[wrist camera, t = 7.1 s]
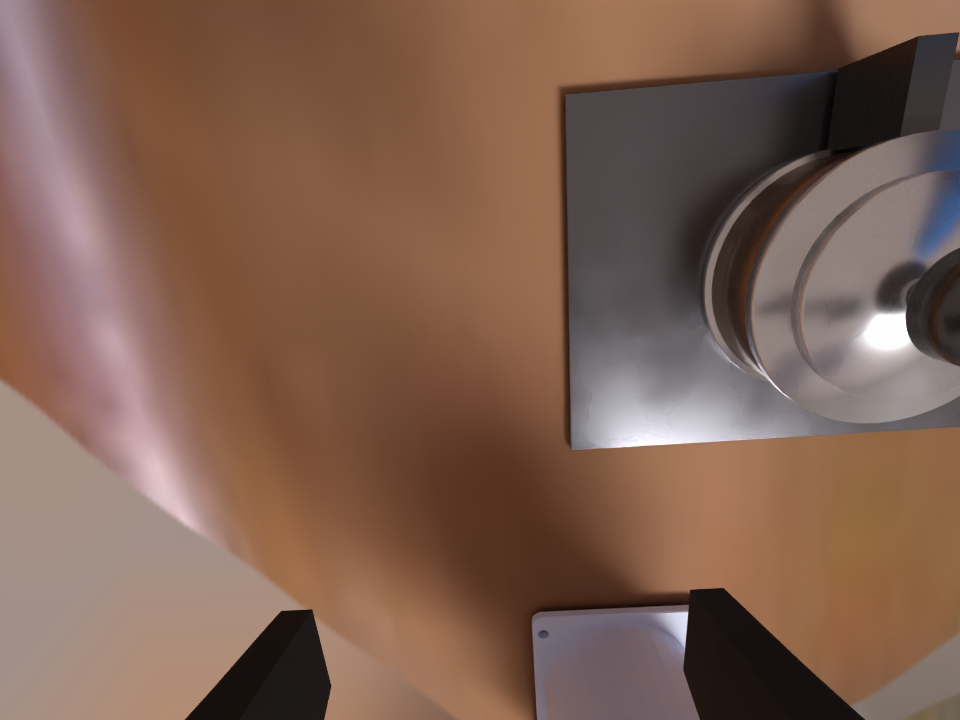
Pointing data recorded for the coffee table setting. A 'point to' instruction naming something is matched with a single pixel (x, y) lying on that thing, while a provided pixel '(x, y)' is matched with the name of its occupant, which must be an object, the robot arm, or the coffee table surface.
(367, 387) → the coffee table surface
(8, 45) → the coffee table surface
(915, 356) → the silver lid with knob
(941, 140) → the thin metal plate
